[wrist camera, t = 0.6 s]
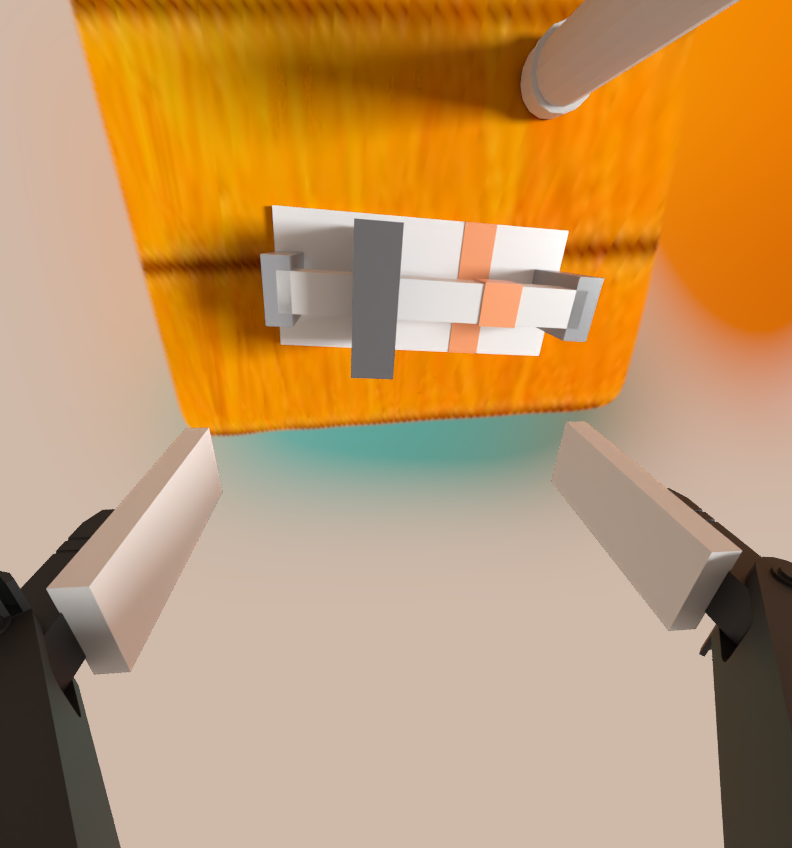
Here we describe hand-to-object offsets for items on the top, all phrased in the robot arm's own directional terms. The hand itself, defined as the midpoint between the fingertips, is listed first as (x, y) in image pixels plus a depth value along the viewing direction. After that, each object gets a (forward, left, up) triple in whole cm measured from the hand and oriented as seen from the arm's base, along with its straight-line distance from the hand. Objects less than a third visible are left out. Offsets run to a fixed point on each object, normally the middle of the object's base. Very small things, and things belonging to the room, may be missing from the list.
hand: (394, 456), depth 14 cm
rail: (-3, +5, -27) cm, 27 cm away
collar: (-3, 0, -25) cm, 25 cm away
